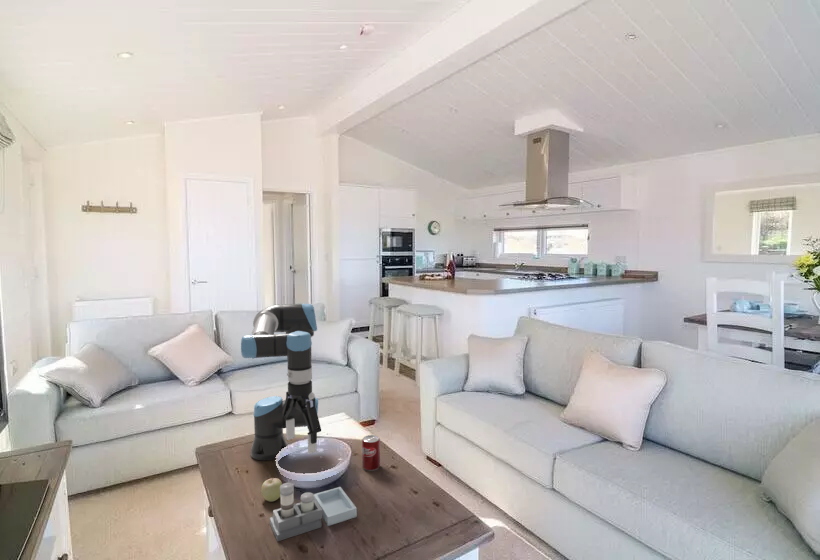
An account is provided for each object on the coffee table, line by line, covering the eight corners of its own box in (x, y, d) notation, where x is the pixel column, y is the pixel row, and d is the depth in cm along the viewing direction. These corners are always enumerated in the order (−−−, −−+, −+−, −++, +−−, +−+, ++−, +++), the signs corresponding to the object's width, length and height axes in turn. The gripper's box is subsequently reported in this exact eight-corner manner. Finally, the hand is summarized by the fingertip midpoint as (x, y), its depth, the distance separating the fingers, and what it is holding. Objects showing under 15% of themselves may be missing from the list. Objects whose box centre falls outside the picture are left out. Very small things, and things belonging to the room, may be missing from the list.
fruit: (287, 497, 162) (287, 475, 161) (271, 507, 156) (270, 485, 155) (273, 490, 166) (272, 469, 165) (256, 500, 160) (256, 478, 159)
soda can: (373, 473, 178) (372, 444, 177) (358, 468, 182) (358, 439, 181) (383, 465, 185) (383, 437, 184) (369, 460, 188) (369, 433, 187)
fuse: (279, 520, 146) (278, 484, 144) (292, 516, 148) (291, 481, 146) (282, 527, 142) (281, 491, 141) (296, 523, 144) (295, 487, 143)
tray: (313, 502, 159) (313, 494, 159) (340, 494, 164) (340, 486, 163) (328, 526, 146) (327, 517, 146) (356, 516, 151) (356, 508, 151)
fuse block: (269, 523, 147) (269, 497, 146) (313, 510, 154) (313, 485, 153) (277, 541, 138) (276, 514, 138) (323, 526, 146) (323, 500, 145)
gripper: (270, 374, 151) (272, 436, 152) (310, 393, 133) (311, 462, 134) (290, 370, 156) (292, 430, 158) (331, 387, 138) (332, 454, 140)
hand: (301, 445), depth 146 cm, fingers open, 13 cm apart
